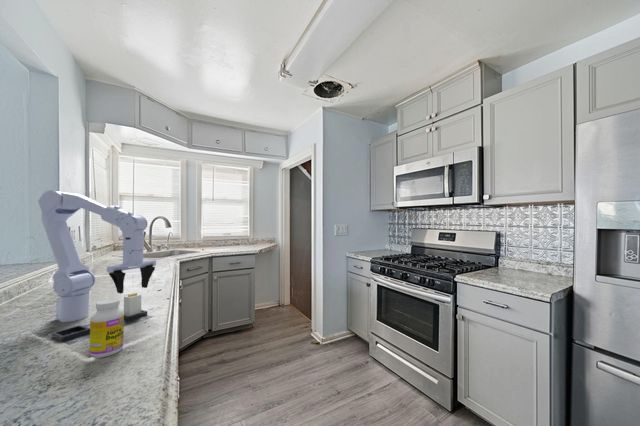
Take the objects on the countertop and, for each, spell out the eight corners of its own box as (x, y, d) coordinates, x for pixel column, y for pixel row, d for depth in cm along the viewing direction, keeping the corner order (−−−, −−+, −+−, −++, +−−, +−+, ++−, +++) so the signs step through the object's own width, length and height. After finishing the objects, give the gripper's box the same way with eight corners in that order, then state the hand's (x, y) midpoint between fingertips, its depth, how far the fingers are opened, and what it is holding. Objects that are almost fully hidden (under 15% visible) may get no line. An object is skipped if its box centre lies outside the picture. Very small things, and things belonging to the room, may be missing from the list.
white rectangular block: (123, 317, 87) (123, 294, 88) (135, 313, 91) (135, 291, 91) (129, 319, 86) (130, 295, 86) (141, 315, 89) (141, 292, 89)
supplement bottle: (104, 360, 62) (105, 306, 62) (82, 357, 63) (83, 304, 63) (129, 347, 68) (130, 298, 69) (109, 344, 69) (110, 296, 70)
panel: (45, 337, 74) (45, 330, 74) (130, 312, 94) (130, 307, 94) (68, 347, 68) (68, 340, 68) (154, 318, 88) (154, 312, 88)
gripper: (115, 253, 81) (114, 297, 80) (161, 248, 94) (161, 286, 93) (103, 252, 84) (102, 294, 83) (149, 248, 97) (149, 284, 96)
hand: (132, 290), depth 89 cm, fingers open, 7 cm apart
